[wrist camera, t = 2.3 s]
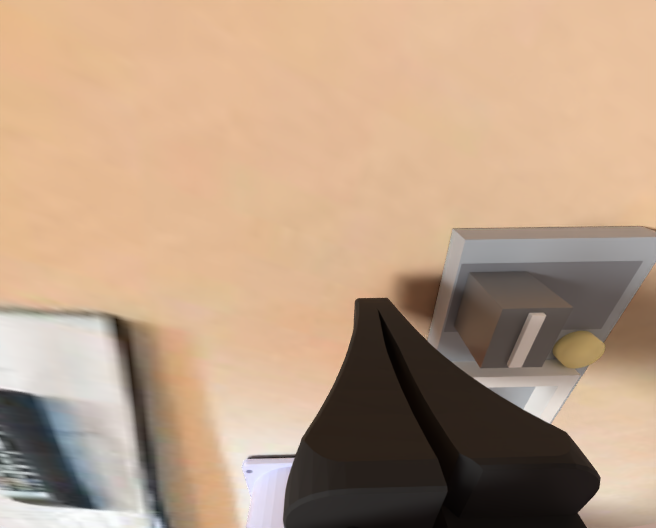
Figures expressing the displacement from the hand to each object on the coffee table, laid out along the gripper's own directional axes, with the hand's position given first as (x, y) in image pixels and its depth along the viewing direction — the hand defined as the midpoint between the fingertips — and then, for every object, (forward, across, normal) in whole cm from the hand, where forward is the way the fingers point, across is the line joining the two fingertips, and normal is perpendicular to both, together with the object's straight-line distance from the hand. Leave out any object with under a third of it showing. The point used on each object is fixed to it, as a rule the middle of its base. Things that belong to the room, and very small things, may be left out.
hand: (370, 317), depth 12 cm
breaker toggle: (+1, -6, 0) cm, 6 cm away
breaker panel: (+2, -8, +4) cm, 9 cm away
